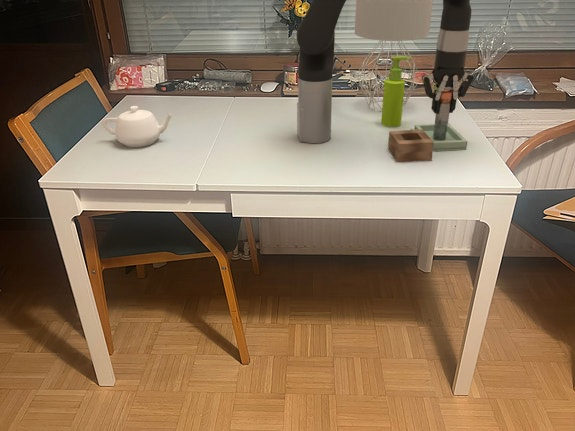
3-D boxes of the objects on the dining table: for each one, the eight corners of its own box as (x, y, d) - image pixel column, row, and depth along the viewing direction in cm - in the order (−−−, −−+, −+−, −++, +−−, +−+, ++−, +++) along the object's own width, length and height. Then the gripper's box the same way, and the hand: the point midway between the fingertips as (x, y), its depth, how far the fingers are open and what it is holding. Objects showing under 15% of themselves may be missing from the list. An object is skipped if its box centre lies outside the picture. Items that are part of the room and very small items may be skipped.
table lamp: (406, 122, 161) (421, -22, 141) (339, 111, 171) (344, -25, 151) (429, 102, 178) (445, -30, 158) (366, 92, 188) (374, -32, 168)
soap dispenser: (404, 127, 157) (411, 59, 148) (380, 126, 159) (385, 58, 149) (404, 121, 162) (411, 54, 152) (381, 119, 164) (386, 53, 154)
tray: (429, 151, 142) (431, 143, 141) (413, 132, 154) (414, 124, 153) (466, 149, 143) (467, 141, 142) (447, 131, 155) (448, 123, 154)
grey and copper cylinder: (435, 139, 146) (441, 93, 140) (431, 135, 149) (437, 89, 143) (447, 139, 146) (454, 92, 140) (443, 134, 149) (449, 88, 143)
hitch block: (397, 162, 136) (399, 144, 134) (387, 148, 144) (389, 131, 142) (431, 160, 137) (433, 142, 135) (420, 146, 145) (422, 129, 142)
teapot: (180, 133, 156) (176, 99, 151) (172, 149, 146) (167, 113, 141) (112, 133, 157) (106, 100, 152) (99, 150, 146) (92, 114, 141)
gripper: (429, 51, 132) (421, 118, 140) (484, 49, 133) (473, 115, 142) (420, 44, 138) (413, 109, 147) (472, 43, 140) (462, 106, 148)
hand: (442, 112), depth 144 cm, fingers closed on grey and copper cylinder, 3 cm apart
